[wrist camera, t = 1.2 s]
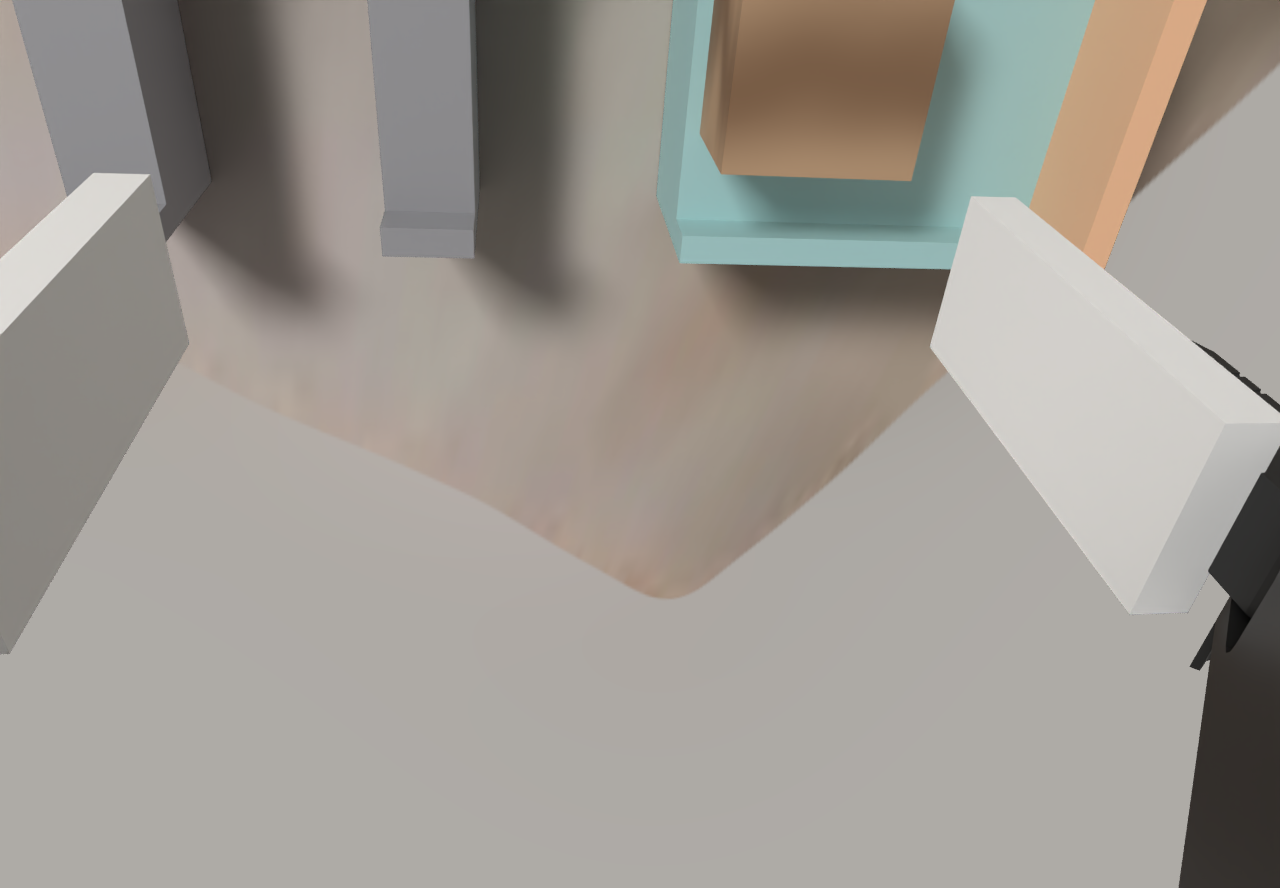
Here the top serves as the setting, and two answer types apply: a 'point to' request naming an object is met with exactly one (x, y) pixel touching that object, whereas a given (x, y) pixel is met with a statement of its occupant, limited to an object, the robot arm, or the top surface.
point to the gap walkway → (673, 127)
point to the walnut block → (821, 86)
